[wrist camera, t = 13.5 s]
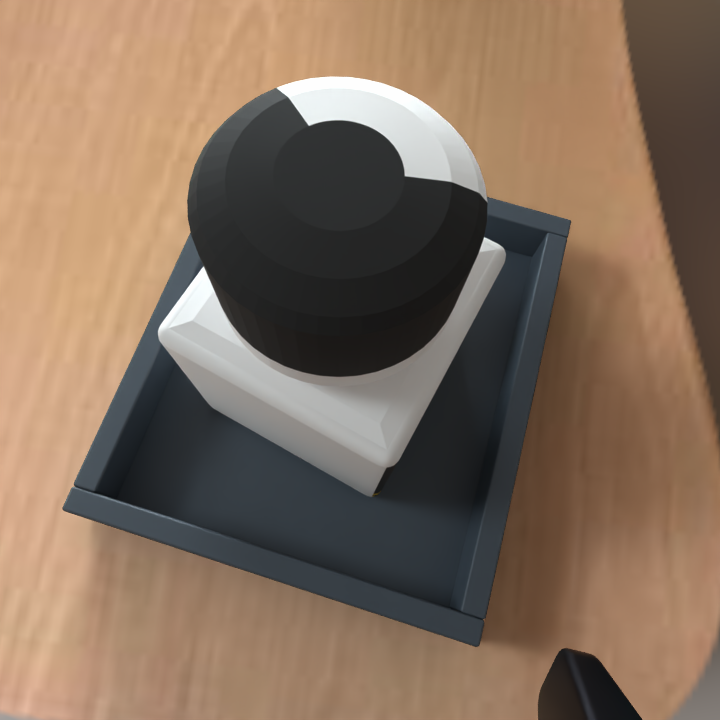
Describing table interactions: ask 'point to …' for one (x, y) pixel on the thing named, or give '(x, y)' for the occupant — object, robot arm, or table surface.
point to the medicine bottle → (332, 270)
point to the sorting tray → (324, 492)
